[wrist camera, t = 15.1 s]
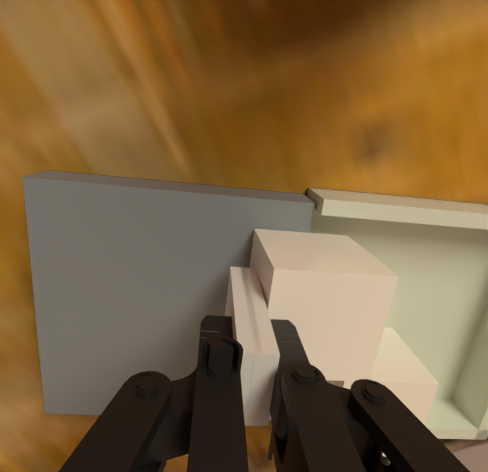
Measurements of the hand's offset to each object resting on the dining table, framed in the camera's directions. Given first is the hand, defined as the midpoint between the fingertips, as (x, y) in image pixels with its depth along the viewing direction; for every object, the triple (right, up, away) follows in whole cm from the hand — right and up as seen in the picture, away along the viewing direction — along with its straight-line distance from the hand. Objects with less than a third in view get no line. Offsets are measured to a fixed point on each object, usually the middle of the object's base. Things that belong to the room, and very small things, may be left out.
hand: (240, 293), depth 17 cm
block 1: (+3, +1, +2) cm, 3 cm away
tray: (+10, -2, +6) cm, 12 cm away
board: (-4, -1, +4) cm, 6 cm away
